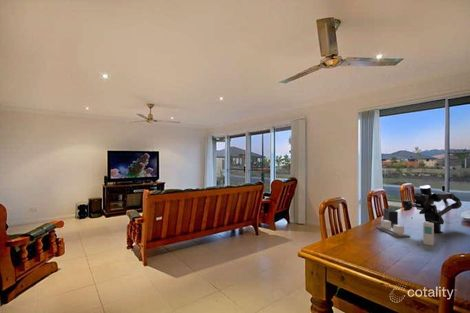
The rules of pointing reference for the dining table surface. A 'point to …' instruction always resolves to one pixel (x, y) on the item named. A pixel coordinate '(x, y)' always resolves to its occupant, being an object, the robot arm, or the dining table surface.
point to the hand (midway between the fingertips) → (411, 211)
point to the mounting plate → (392, 229)
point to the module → (428, 233)
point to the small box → (390, 216)
